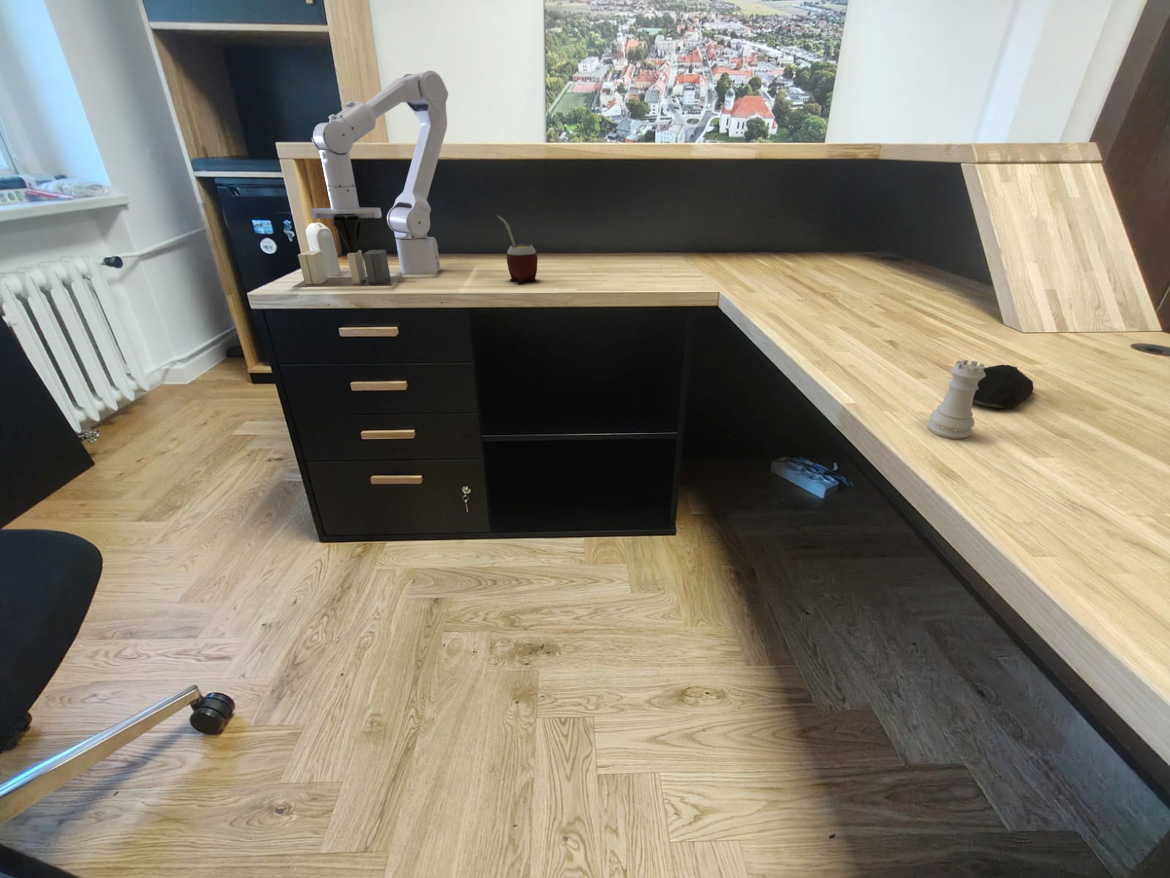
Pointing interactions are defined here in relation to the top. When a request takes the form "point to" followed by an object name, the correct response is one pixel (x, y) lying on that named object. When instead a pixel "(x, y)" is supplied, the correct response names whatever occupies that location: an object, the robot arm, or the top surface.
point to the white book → (357, 267)
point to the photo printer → (324, 246)
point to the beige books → (313, 267)
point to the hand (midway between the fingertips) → (354, 252)
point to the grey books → (376, 266)
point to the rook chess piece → (957, 402)
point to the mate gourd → (521, 260)
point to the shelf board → (348, 282)
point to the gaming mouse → (1002, 387)
